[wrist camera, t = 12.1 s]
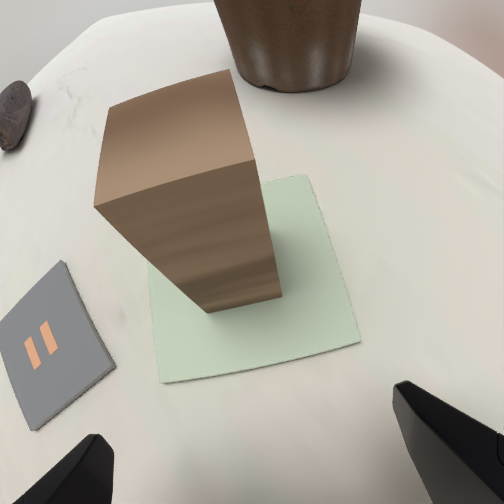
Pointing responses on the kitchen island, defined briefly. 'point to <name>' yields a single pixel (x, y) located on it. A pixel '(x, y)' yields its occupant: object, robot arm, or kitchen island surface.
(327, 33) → the plant pot
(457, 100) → the kitchen island surface
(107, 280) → the kitchen island surface
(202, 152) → the walnut post
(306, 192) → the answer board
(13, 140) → the perforated stone tool
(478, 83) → the kitchen island surface
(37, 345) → the plate
